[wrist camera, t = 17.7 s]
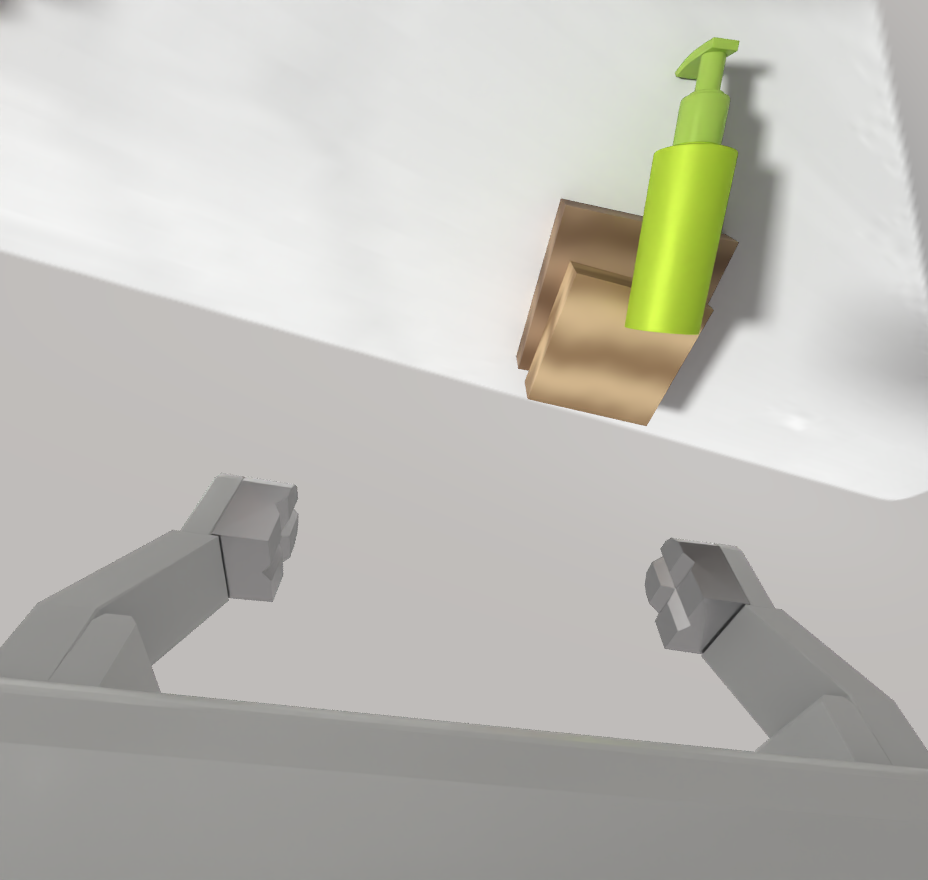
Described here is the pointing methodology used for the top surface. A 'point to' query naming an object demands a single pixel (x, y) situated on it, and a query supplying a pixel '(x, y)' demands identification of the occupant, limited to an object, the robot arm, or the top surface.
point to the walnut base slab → (592, 259)
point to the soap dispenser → (685, 204)
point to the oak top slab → (603, 351)
